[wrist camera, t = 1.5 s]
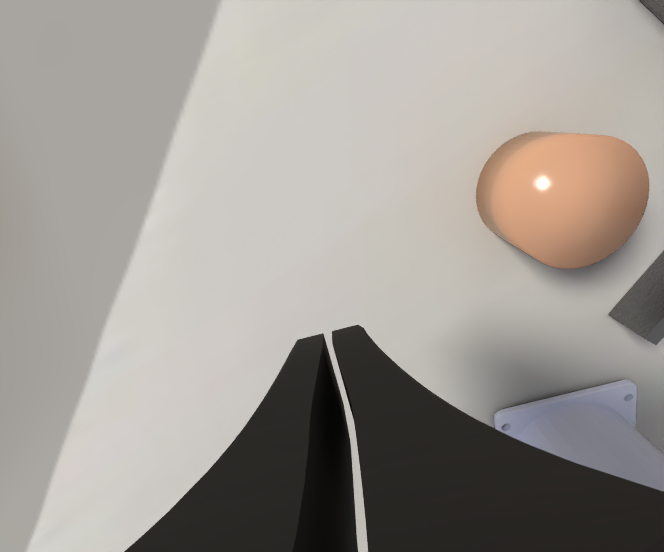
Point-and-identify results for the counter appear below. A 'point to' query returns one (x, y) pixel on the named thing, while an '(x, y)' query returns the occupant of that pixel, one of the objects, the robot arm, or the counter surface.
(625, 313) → the gray zigzag divider
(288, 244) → the counter surface
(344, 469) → the robot arm
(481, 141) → the counter surface
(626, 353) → the counter surface
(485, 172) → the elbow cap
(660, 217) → the counter surface
